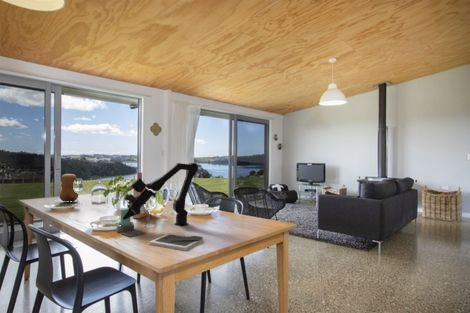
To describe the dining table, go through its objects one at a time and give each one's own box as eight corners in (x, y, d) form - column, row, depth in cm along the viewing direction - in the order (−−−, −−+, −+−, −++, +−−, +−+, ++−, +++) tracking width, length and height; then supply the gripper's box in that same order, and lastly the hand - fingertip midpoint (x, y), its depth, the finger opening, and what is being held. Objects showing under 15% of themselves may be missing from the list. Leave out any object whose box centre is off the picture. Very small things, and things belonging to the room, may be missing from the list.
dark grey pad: (145, 233, 153) (145, 232, 153) (130, 237, 146) (130, 236, 146) (135, 230, 158) (135, 229, 158) (120, 234, 151) (120, 233, 151)
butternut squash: (73, 200, 254) (73, 173, 254) (80, 202, 247) (81, 173, 246) (56, 202, 243) (57, 173, 243) (63, 204, 235) (64, 174, 235)
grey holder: (132, 226, 167) (132, 221, 167) (134, 230, 159) (134, 225, 159) (116, 228, 163) (116, 223, 163) (117, 232, 155) (117, 226, 155)
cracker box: (140, 218, 188) (140, 187, 188) (132, 218, 189) (132, 187, 189) (150, 214, 202) (151, 185, 201) (143, 214, 203) (143, 185, 203)
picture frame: (203, 242, 142) (169, 237, 150) (203, 237, 142) (169, 232, 150) (185, 252, 127) (149, 245, 135) (185, 246, 127) (149, 240, 135)
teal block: (129, 228, 164) (129, 207, 164) (130, 230, 160) (130, 209, 160) (120, 228, 162) (120, 208, 162) (120, 230, 158) (121, 209, 158)
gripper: (131, 186, 171) (111, 206, 166) (134, 190, 154) (112, 212, 149) (145, 199, 174) (125, 218, 170) (149, 204, 157) (127, 225, 153)
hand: (122, 218), depth 160 cm, fingers open, 6 cm apart
